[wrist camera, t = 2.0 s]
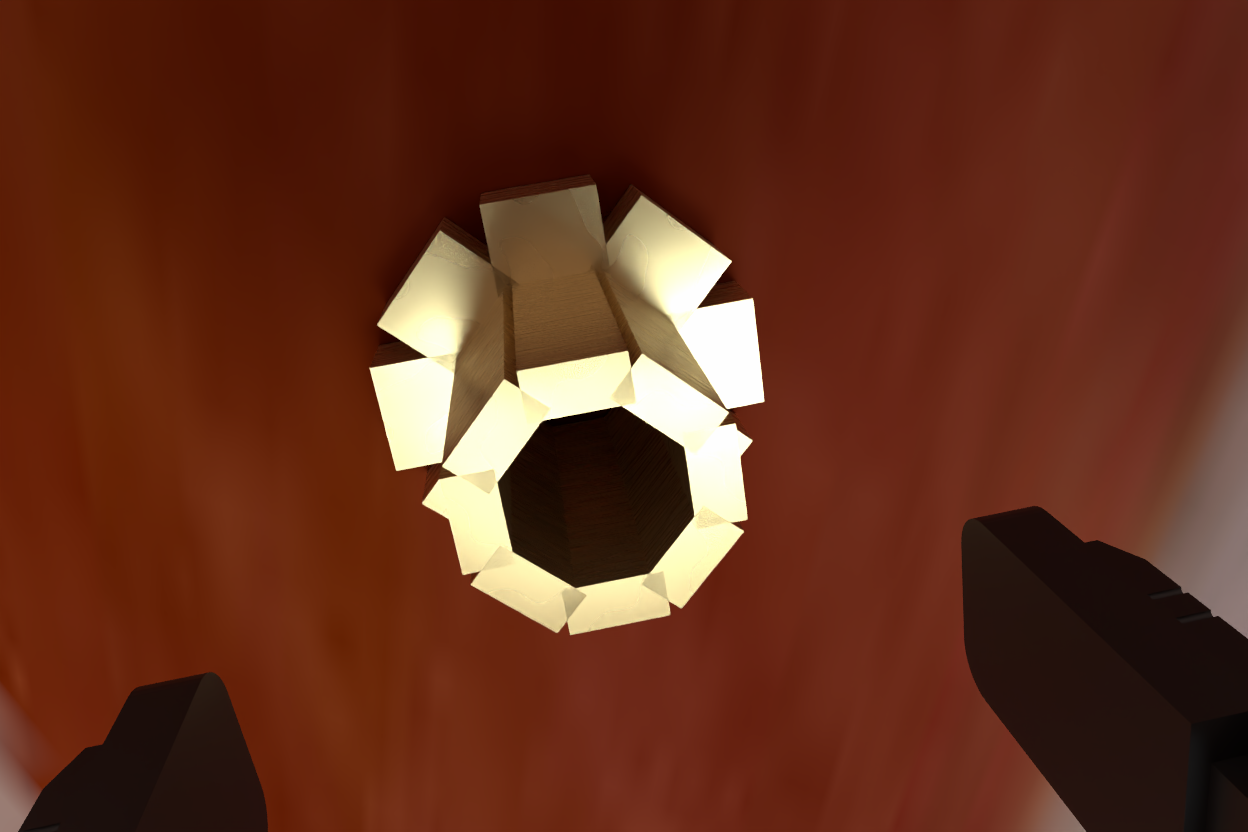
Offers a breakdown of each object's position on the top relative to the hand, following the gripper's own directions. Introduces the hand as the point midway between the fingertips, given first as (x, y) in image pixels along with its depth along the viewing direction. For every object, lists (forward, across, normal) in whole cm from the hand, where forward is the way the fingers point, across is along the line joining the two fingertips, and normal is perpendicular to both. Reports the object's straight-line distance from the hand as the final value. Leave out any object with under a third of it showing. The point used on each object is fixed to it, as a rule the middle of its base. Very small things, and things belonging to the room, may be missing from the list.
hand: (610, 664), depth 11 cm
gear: (+11, 0, 0) cm, 11 cm away
